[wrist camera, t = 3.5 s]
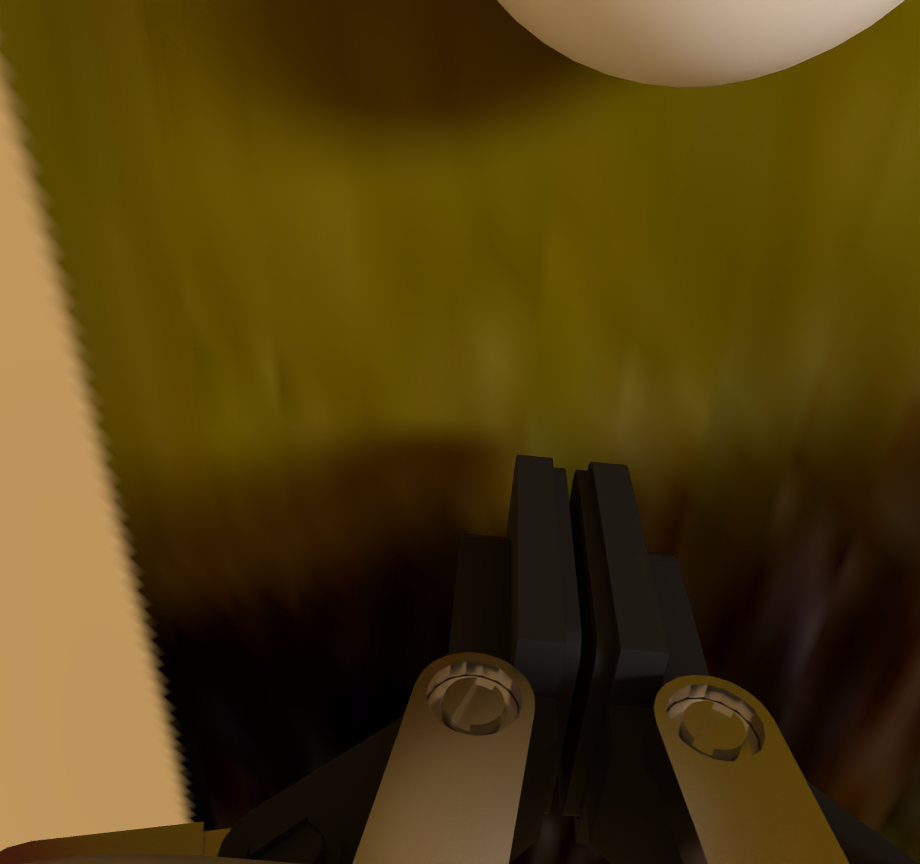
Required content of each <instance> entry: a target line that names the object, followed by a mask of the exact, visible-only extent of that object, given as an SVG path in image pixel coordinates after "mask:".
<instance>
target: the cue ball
mask: <svg viewBox="0 0 920 864" xmlns="http://www.w3.org/2000/svg"><path fill="white" fill-rule="evenodd" d="M497 1H498V2H499V3H500V4H501V5H502V7H503V8H504V9H505V10H506V11H507V12H508V13H509V14H510V15H511V16H512V17H513V18H514V19H515V20H516V21H517V22H518V23H519V24H521V25H522V26H523V27H524V28H526V29H527V30H528V31H529V32H531V33H532V34H533V35H534V36H535V37H537V38H538V39H539V40H540V41H542V42H543V43H544V44H546V45H548V46H549V47H551V48H553V49H555V50H556V51H558V52H560V53H561V54H563V55H565V56H566V57H568V58H570V59H571V60H573V61H575V62H578V63H580V64H582V65H585V66H587V67H590V68H592V69H595V70H597V71H599V72H602V73H604V74H607V75H611V76H615V77H619V78H623V79H627V80H631V81H635V82H639V83H643V84H651V85H661V86H671V87H701V86H717V85H723V84H729V83H735V82H740V81H746V80H752V79H755V78H758V77H761V76H765V75H768V74H771V73H774V72H778V71H781V70H784V69H787V68H790V67H792V66H794V65H796V64H799V63H801V62H803V61H805V60H808V59H810V58H812V57H814V56H817V55H819V54H821V53H823V52H825V51H828V50H830V49H832V48H834V47H836V46H838V45H839V44H841V43H843V42H844V41H846V40H848V39H849V38H851V37H853V36H855V35H856V34H858V33H860V32H861V31H863V30H865V29H866V28H868V27H870V26H871V25H873V24H874V23H875V22H877V21H878V20H879V19H881V18H882V17H883V16H885V15H886V14H887V13H889V12H890V11H891V10H893V9H894V8H895V7H896V6H898V5H899V4H900V3H902V2H903V1H904V0H497Z"/></svg>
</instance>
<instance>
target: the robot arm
mask: <svg viewBox="0 0 920 864" xmlns="http://www.w3.org/2000/svg"><path fill="white" fill-rule="evenodd" d="M557 773H558V783H559V803H560V812H561V814H562V815H568V816H574V819H575V834H576V843H581V844H590V845H592V846H593V847H594V848H595V849H596V850H597V851H598V852H599V853H600V854H601V855H602V856H603V857H604V858H605V859H606V860H607V861H608V862H609V863H610V864H919V863H917V862H916V861H914V860H913V859H912V858H910V857H909V856H908V855H906V854H905V853H904V852H902V851H901V850H899V849H898V848H897V847H895V846H894V845H893V844H891V843H890V842H889V841H887V840H886V839H884V838H883V837H882V836H880V835H879V834H878V833H876V832H875V831H873V830H872V829H871V828H869V827H868V826H867V825H865V824H864V823H863V822H861V821H860V820H858V819H857V818H856V817H854V816H853V815H852V814H850V813H849V812H848V811H846V810H845V809H843V808H842V807H841V806H839V805H838V804H837V803H835V802H834V801H833V800H831V799H830V798H828V797H827V796H826V795H824V794H823V793H822V792H820V791H819V790H818V789H816V788H815V787H813V786H812V785H811V784H809V783H808V782H807V781H806V780H805V778H804V776H803V774H802V772H801V770H800V769H799V767H798V765H797V763H796V761H795V759H794V757H793V755H792V753H791V751H790V749H789V748H788V746H787V744H786V742H785V740H784V738H783V736H782V734H781V732H780V730H779V729H778V727H777V725H776V723H775V721H774V719H773V718H772V716H771V715H770V714H769V712H768V711H767V709H766V708H765V707H764V705H763V704H762V703H760V702H759V701H758V700H757V699H756V698H755V697H753V696H752V695H751V694H750V693H749V692H747V691H745V690H744V689H742V688H740V687H738V686H736V685H735V684H733V683H731V682H728V681H725V680H722V679H719V678H715V677H711V676H709V673H708V669H707V665H706V662H705V658H704V655H703V651H702V647H701V644H700V640H699V636H698V633H697V629H696V625H695V622H694V618H693V614H692V611H691V607H690V603H689V600H688V596H687V592H686V589H685V585H684V581H683V578H682V574H681V571H680V567H679V563H678V561H677V558H676V556H674V555H673V554H667V553H657V552H647V550H646V546H645V541H644V537H643V532H642V528H641V523H640V519H639V514H638V510H637V505H636V501H635V497H634V492H633V488H632V483H631V479H630V474H629V470H628V467H627V466H626V465H619V464H609V463H599V462H590V464H589V466H588V470H587V471H584V470H576V471H575V474H574V478H573V484H572V490H571V496H570V502H569V497H568V487H567V477H566V469H564V468H553V459H552V458H547V457H536V456H526V455H517V457H516V462H515V469H514V477H513V485H512V493H511V501H510V509H509V517H508V524H507V532H506V538H503V537H493V536H483V535H473V534H462V533H461V535H460V545H459V554H458V564H457V574H456V584H455V594H454V604H453V614H452V624H451V634H450V643H449V653H448V656H446V657H443V658H441V659H438V660H436V661H434V662H433V663H432V664H431V665H429V666H428V667H427V668H426V669H425V670H423V671H422V673H421V675H420V677H419V678H418V680H417V682H416V683H415V686H414V689H413V692H412V695H411V698H410V700H409V703H408V706H407V709H406V712H405V715H404V716H403V717H402V718H400V719H398V720H397V721H395V722H394V723H392V724H390V725H389V726H387V727H385V728H384V729H382V730H381V731H379V732H377V733H376V734H374V735H372V736H371V737H369V738H368V739H366V740H364V741H363V742H361V743H360V744H358V745H356V746H355V747H353V748H351V749H350V750H348V751H347V752H345V753H343V754H342V755H340V756H338V757H337V758H335V759H334V760H332V761H330V762H329V763H327V764H325V765H324V766H322V767H321V768H319V769H317V770H316V771H314V772H312V773H311V774H309V775H308V776H306V777H304V778H303V779H301V780H299V781H298V782H296V783H295V784H293V785H291V786H290V787H288V788H287V789H285V790H283V791H282V792H280V793H278V794H277V795H275V796H274V797H272V798H270V799H269V800H267V801H265V802H264V803H262V804H261V805H259V806H257V807H256V808H254V809H252V810H251V811H250V812H249V813H247V814H246V815H245V816H244V817H242V818H241V819H240V820H239V821H238V822H236V823H235V824H234V826H233V827H232V828H230V829H222V830H213V831H205V828H204V822H197V823H188V824H179V825H171V826H162V827H153V828H144V829H136V830H126V831H117V832H109V833H100V834H91V835H82V836H73V837H64V838H56V839H46V840H38V841H31V842H27V843H23V844H19V845H16V846H12V847H8V848H6V849H4V850H2V851H0V864H509V863H510V862H511V861H513V860H514V859H515V858H516V857H517V856H519V855H520V854H521V853H522V852H523V851H525V850H526V849H527V848H528V847H529V846H531V845H532V844H533V843H534V842H535V841H537V840H538V839H539V836H540V831H541V826H542V821H543V816H544V813H549V812H550V808H551V803H552V798H553V793H554V788H555V783H556V778H557Z"/></svg>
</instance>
